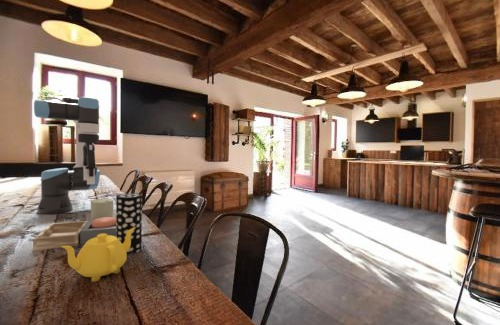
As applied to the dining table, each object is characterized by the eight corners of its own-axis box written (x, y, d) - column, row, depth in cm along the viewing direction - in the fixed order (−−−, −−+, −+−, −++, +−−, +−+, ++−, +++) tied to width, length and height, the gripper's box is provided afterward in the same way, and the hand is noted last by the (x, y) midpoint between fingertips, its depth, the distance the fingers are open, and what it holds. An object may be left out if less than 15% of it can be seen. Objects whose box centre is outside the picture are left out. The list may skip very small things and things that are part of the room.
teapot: (72, 300, 57) (72, 254, 57) (52, 278, 66) (52, 238, 65) (149, 268, 74) (149, 232, 73) (125, 254, 82) (125, 222, 82)
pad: (93, 223, 100) (93, 218, 100) (118, 221, 104) (118, 216, 104) (89, 230, 92) (89, 224, 92) (115, 228, 96) (115, 222, 96)
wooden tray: (51, 232, 99) (51, 223, 99) (88, 229, 104) (88, 220, 104) (33, 250, 83) (32, 239, 82) (78, 245, 88) (77, 234, 88)
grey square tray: (88, 231, 102) (88, 220, 101) (124, 228, 108) (124, 217, 107) (80, 244, 89) (80, 231, 89) (122, 239, 95) (122, 227, 95)
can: (102, 228, 106) (102, 202, 106) (85, 226, 108) (85, 200, 107) (118, 222, 115) (118, 198, 115) (101, 220, 117) (101, 196, 116)
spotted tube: (146, 247, 89) (147, 194, 87) (128, 256, 81) (129, 198, 80) (129, 243, 91) (129, 192, 90) (110, 252, 83) (110, 196, 82)
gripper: (75, 133, 110) (76, 179, 111) (80, 132, 91) (81, 186, 92) (94, 134, 115) (95, 178, 116) (103, 133, 96) (103, 185, 97)
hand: (88, 182), depth 104 cm, fingers open, 13 cm apart
